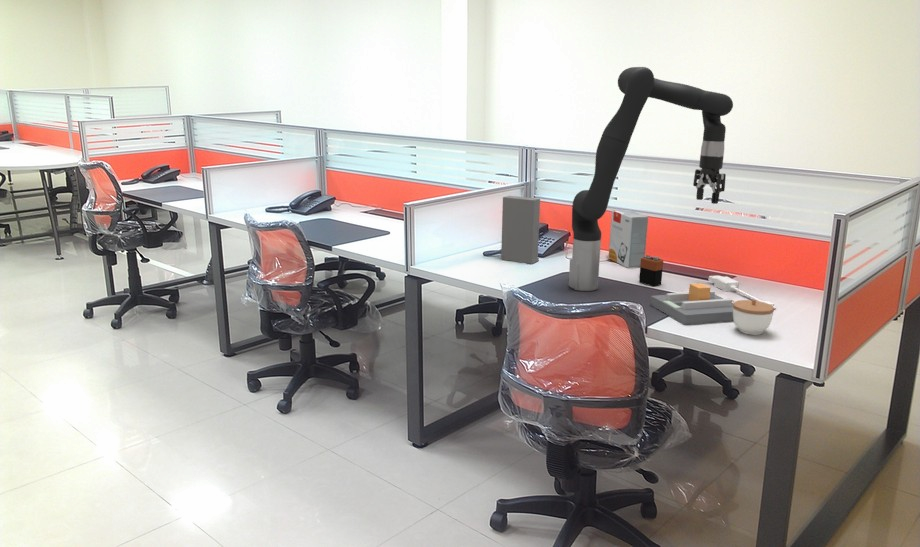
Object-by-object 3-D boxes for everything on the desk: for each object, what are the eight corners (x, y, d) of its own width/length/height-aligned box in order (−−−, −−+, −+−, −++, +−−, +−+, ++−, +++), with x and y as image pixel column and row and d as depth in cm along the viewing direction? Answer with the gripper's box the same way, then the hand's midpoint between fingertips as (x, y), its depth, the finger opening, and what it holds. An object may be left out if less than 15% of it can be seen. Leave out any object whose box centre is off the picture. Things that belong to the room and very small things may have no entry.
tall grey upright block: (538, 261, 280) (541, 198, 274) (531, 264, 275) (534, 200, 269) (507, 256, 287) (509, 195, 281) (500, 259, 282) (502, 197, 276)
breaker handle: (697, 304, 215) (698, 288, 214) (688, 299, 220) (689, 283, 218) (708, 303, 216) (710, 287, 215) (699, 298, 221) (701, 283, 219)
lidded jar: (747, 323, 209) (751, 292, 207) (779, 334, 200) (783, 302, 198) (722, 328, 204) (725, 297, 202) (752, 340, 195) (756, 307, 193)
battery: (653, 286, 246) (656, 258, 244) (638, 282, 252) (640, 255, 249) (661, 285, 249) (664, 257, 246) (646, 280, 254) (648, 253, 251)
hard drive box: (607, 259, 286) (610, 209, 281) (624, 257, 288) (628, 209, 283) (627, 268, 271) (631, 216, 266) (645, 267, 274) (649, 215, 269)
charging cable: (766, 313, 222) (767, 303, 221) (707, 282, 252) (708, 273, 251) (779, 312, 223) (781, 302, 222) (719, 281, 253) (720, 272, 252)
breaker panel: (684, 324, 207) (686, 308, 206) (650, 304, 226) (651, 289, 224) (747, 320, 212) (749, 304, 211) (708, 300, 231) (710, 286, 229)
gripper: (690, 152, 248) (685, 198, 252) (715, 156, 235) (710, 205, 239) (708, 152, 250) (703, 198, 254) (734, 156, 237) (729, 204, 241)
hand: (706, 201), depth 247 cm, fingers open, 8 cm apart
